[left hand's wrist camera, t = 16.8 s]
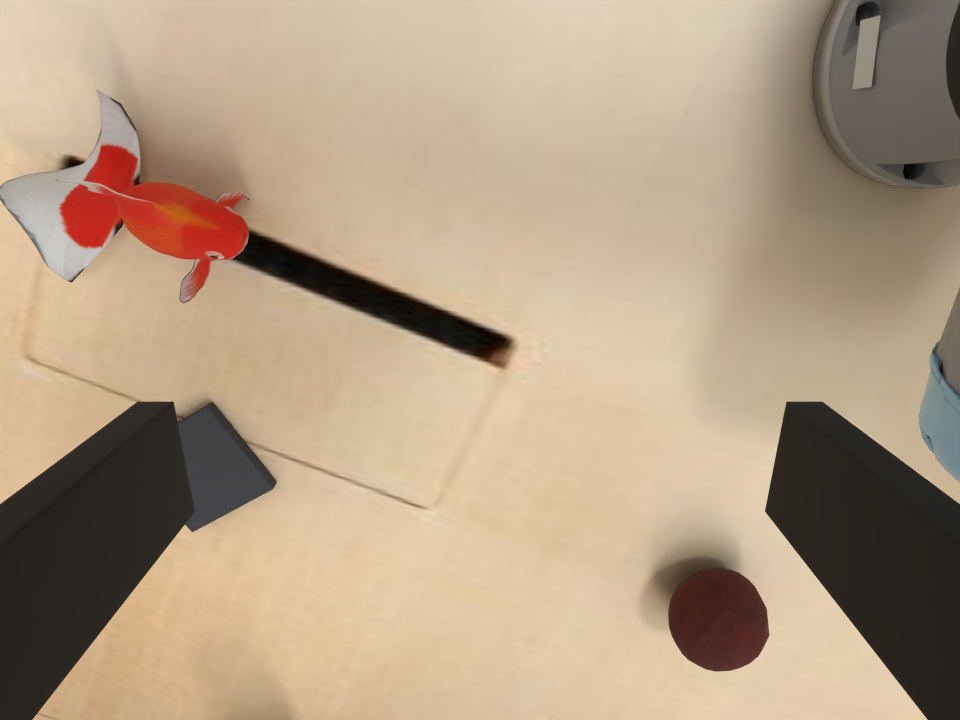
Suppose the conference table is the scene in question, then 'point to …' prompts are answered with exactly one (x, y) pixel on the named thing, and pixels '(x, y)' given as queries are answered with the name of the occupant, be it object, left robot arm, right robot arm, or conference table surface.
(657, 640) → the conference table surface
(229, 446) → the coaster
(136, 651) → the conference table surface
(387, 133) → the conference table surface
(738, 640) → the dark red ball
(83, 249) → the fish
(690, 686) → the conference table surface
